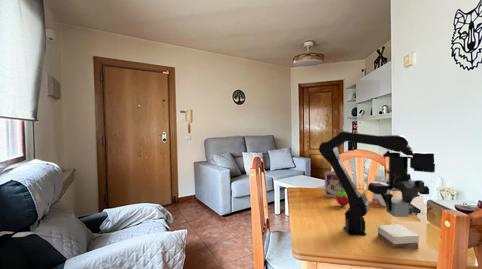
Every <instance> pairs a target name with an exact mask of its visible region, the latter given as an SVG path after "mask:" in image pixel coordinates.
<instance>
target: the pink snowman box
mask: <svg viewBox="0 0 482 269" xmlns="http://www.w3.org/2000/svg"><path fill="white" fill-rule="evenodd" d="M342 188H343V187H342V185H341V183H340V181H339V179H338V177H337V175H336V173H335V172H334V170H331V171H324V196H325V197H327V198H336V194H337V193H338V192H342ZM343 189H344V188H343ZM344 192H345V190H344ZM345 193H346V192H345Z"/></svg>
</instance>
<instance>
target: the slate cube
mask: <svg viewBox="0 0 482 269" xmlns="http://www.w3.org/2000/svg"><path fill="white" fill-rule="evenodd" d="M391 202H392V209H391V212H390V211H388V209H387V206H385V207H386V211H385V212H387V213H388V214H390V215H391V216H392V217H394V218H401V217H402V218H409V217H410V205H409V203H408V202H406V201H404V200H402V198H392V199H391Z"/></svg>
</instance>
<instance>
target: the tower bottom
mask: <svg viewBox="0 0 482 269" xmlns="http://www.w3.org/2000/svg"><path fill="white" fill-rule="evenodd" d="M377 236H378V237H379V239H380V240H382V241H383V242H384V243H385V244H386V245H387V246H388V247H389V248H391V249H393V250H394V249H397V250H398V249H400V250H403V249H405V250H407V249H408V250H409V249H410V250H411V249H412V250H417V249H419V243H403V244H393V243H392V242H391V241H389V240H388V239H387V238H385V237H384V236H382V235H381V234H380V233H378V232H377Z"/></svg>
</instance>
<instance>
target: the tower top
mask: <svg viewBox="0 0 482 269" xmlns="http://www.w3.org/2000/svg"><path fill="white" fill-rule="evenodd" d="M378 233H380V234H381V235H382V236H384V237H385V238H387V239H388V240H389V241H391V242H392V243H393V244H403V243H418V244H419V241H420V239H419V237H420V235H419V234H417V233H415V232H414V231H412V230H410V229H408V228H406V227H405V226H403V225H402V224H387V225H386V224H385V225H384V224H383V225H377V234H378Z"/></svg>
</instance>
